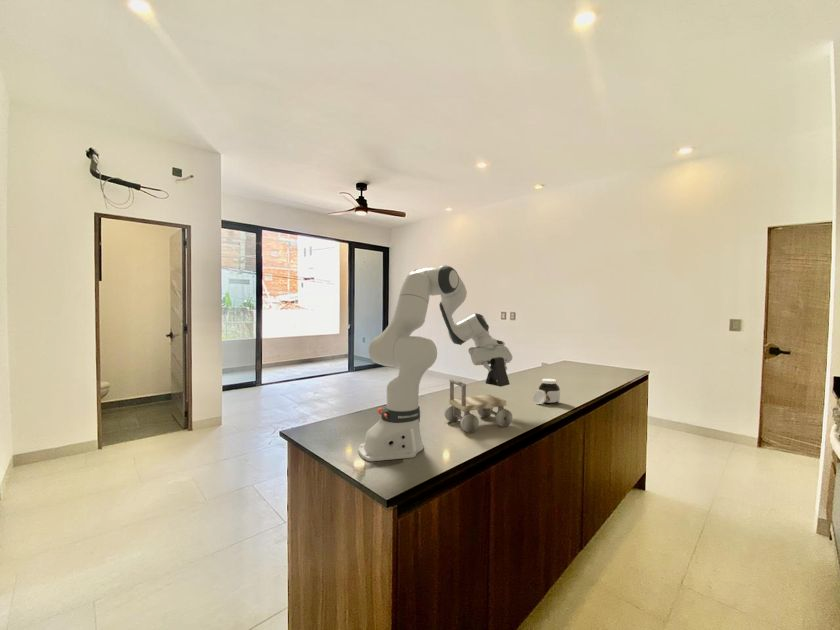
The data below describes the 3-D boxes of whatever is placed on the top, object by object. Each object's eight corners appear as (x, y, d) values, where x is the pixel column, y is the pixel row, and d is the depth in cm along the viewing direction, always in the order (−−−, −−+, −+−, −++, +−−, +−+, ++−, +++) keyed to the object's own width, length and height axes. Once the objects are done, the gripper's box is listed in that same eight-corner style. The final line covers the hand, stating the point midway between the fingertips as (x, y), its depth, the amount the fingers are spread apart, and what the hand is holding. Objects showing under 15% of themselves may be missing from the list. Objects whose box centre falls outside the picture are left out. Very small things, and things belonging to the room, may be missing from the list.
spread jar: (561, 402, 181) (561, 379, 181) (556, 407, 171) (556, 383, 171) (537, 399, 187) (537, 377, 187) (531, 404, 178) (531, 381, 177)
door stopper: (509, 384, 160) (509, 358, 160) (501, 386, 157) (501, 359, 156) (493, 381, 167) (493, 356, 167) (485, 383, 164) (485, 357, 163)
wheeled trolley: (463, 434, 137) (462, 385, 137) (444, 421, 152) (444, 377, 152) (512, 425, 146) (512, 380, 146) (490, 415, 161) (490, 373, 160)
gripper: (469, 343, 164) (481, 368, 155) (506, 341, 172) (519, 364, 163) (464, 351, 168) (475, 376, 159) (501, 349, 176) (513, 372, 167)
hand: (498, 370), depth 161 cm, fingers closed on door stopper, 6 cm apart
